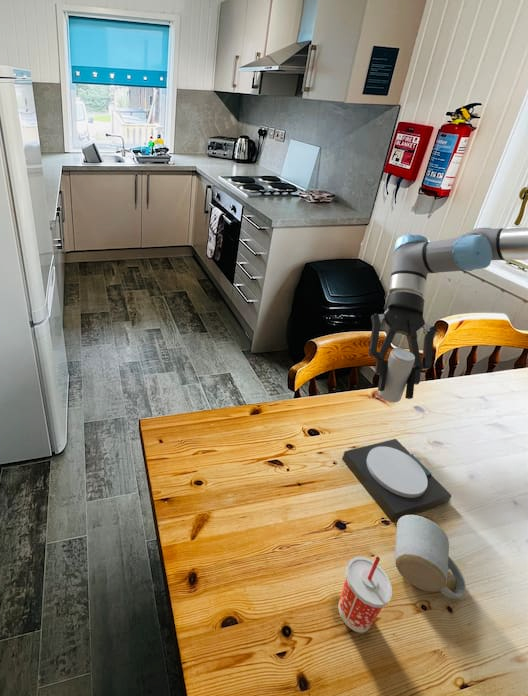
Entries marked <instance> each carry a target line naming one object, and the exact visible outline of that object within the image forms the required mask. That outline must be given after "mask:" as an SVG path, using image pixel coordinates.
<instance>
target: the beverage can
mask: <svg viewBox="0 0 528 696" xmlns="http://www.w3.org/2000/svg"><path fill="white" fill-rule="evenodd" d="M387 361H388V366H387V374H386V382H385V390H384V391H378V390H377V393H378V395H379V396H380V398H382V399H383V401H386V402H389V403H392V404H393V403H394V404H395V403H399V402H400V401H401V400H402V398H403V395H404V392H405V390H406V387H407V381H408V378H409V376H410V373H411V370H412V367H413V365H414V362H415V356H414V355H413V354H412V353H411V352H410V351H409V350H407V349H405V348H402V347H394V348H392V349H391V351H390V353H389V355H388V359H387Z"/></svg>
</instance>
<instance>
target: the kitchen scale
mask: <svg viewBox="0 0 528 696" xmlns="http://www.w3.org/2000/svg"><path fill="white" fill-rule="evenodd" d="M341 459H342V461H343V462H344V463H345V465H346V466H347V467H348V469H349V470H350V471H351V472H352V474H353V475H354V476H355V477H356V479H357V480H358V481H359V482H360V483H361V485H362V486H363V487H364V488H365V490H366V491H367V492H368V494H369V495H370V496H371V497H372V499H373V500H374V502H376V504H377V506H379V508H380V509H381V510H382V512H383V513H384V514H385V515H386V517H387V519H389V520H390V521H391V522H394V521H398V520H399V519H400V518H401V517H402V516H405V515H418V514H420V513H423V512H426V511H429V510H432V509H436V508H439V507H442V506H445V505H448V504H449V502H450V501H451V499H452V494H451V493H450V492H449V491H448V490H447V489H446V488H445V487H444V486H443V485H442V484H441V483H440V482H439V481H438V480H437V479H436V478H435V477H434V476H433V473H432V472H431V471H430V470H429V469H428V468H427V467H426V466H425V465H424V464H423V463H422V462H421V461H420V460H419V459H418V458H417V457H416V456H415V455H414V454H413V453H411V452H410V451H408V450H407V448H406V447H404V445H402V444H401V442H399V440H398V439H397V438H393V439H388V440H385V441H381V442H377V443H372V444H368V445H364V446H360V447H356V448H352V449H348V450H344V451H343V455H342V457H341Z"/></svg>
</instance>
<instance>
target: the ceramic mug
mask: <svg viewBox="0 0 528 696" xmlns="http://www.w3.org/2000/svg"><path fill="white" fill-rule="evenodd" d="M395 534H396V535H395V548H394V549H395V550H394V560H395V561H394V563H395V566H396V569H397V571H398V573H399V574H400V575H401V576H402V578H403V579H404V580H405V581H406V582H408V583H409V584H410V585H412V586H414V587H416V588H418V589H420V590H423V591H426V592H433V593H434V592H440V593H441V594H442V595H444V596H446V597H447V598H449V599H453V600H456V599H460V598H462V597H464V595H465V594H466V588H467V587H466V581H465V579H464V578H465V577H464V576H463V574H462V572H461V570H460V568H459V567H458V565H457V564H456V563H455V561H454V560H453V559H452V558H451V557H450V555H449V553H450V542H449V541H450V540H449V537H448V535H447V534H446V532H445V531H444V529H442V527H441V526H439V525H438V524H437V523H436V522H434V521H432V520H430V519H429V518H426V517H424V516H421V515H418V514H414V515H405V516H402V517H401V518H400V519H398V520H397V522H396V533H395ZM449 570H450V572H451V574H452V575H453V577H454V580H455V590H454V592H453V591H452V590H450V588H448V587H447V582H448V576H449Z"/></svg>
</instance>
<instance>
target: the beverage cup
mask: <svg viewBox="0 0 528 696" xmlns="http://www.w3.org/2000/svg"><path fill="white" fill-rule="evenodd" d="M380 560H381V558H380V557H379V556H376V557H375V559H374V561H373V560H372V559H369V558H367V557H365V556H354V557H352V558H350V559H349V560H348V563H347V564H346V568H345V578H344V581H343V585H342V589H341V593H340V597H339V601H338V610H337V611H338V612H339V616H340V617H341V619H342V621H343V623H344V624H345V625H346V626H347V627H348V628H349V629H350V630H352V631H354V632H356V633H361V634H363V633H365V632H367V631H369V629H370V628H371V626H372V625H373V624H374V622H375V620H376V618H377V617H378V616H379V614H380V613H381V611H382V610H383V608H384V607H386V606H388V604H389V603H390V601H391V599H392V596H393V585H392V582H391V580H390V579H389V576H388V574H387V573H386V572H385V571H384V569H383V568H382V567H381V566H380V565H379V563H380Z"/></svg>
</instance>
